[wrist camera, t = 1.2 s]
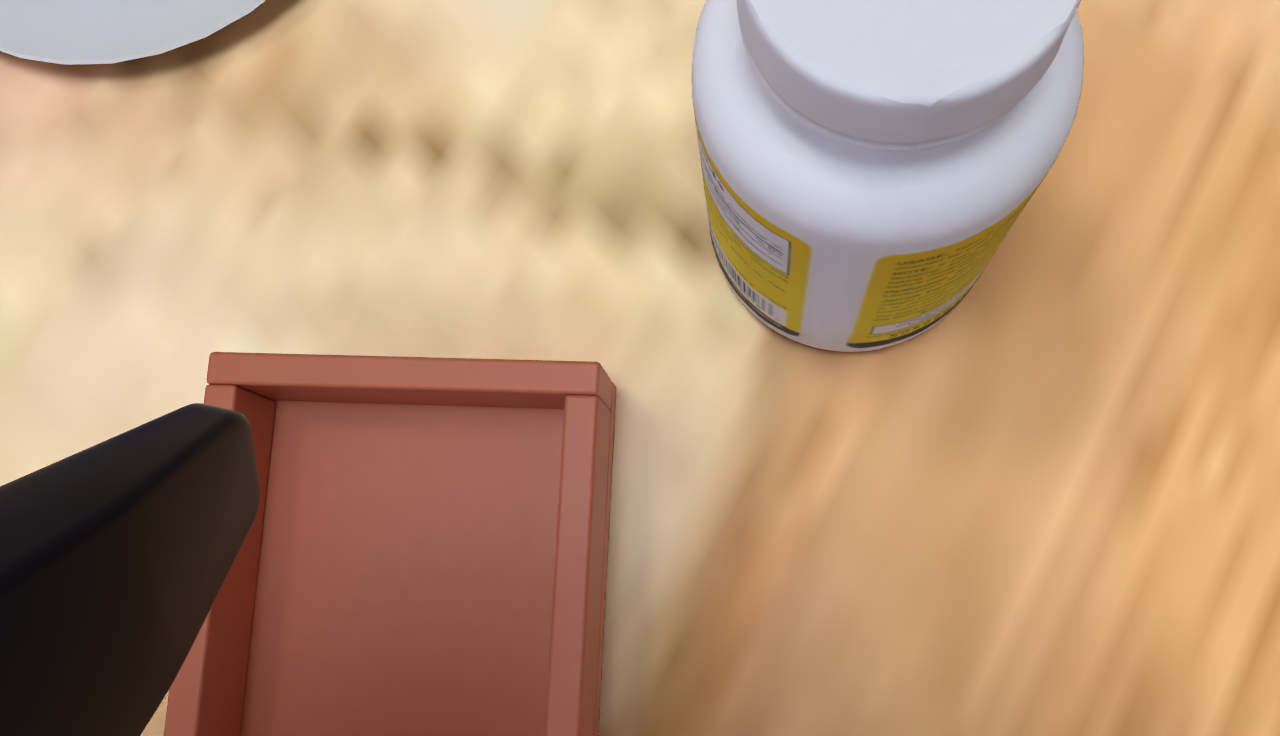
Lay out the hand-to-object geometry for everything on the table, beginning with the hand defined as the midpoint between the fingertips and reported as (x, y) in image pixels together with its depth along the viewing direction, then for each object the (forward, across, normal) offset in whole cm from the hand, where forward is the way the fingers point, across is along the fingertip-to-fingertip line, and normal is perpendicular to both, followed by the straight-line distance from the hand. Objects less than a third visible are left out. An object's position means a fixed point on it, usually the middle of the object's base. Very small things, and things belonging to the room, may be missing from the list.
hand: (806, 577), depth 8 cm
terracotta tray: (+8, +6, +11) cm, 15 cm away
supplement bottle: (+14, 0, +4) cm, 15 cm away
